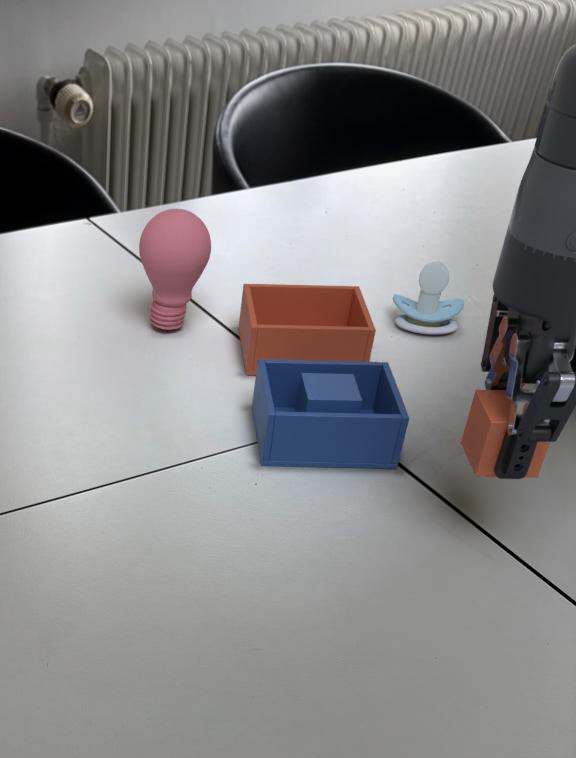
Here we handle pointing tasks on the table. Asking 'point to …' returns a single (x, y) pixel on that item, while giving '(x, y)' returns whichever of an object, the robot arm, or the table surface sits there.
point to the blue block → (328, 393)
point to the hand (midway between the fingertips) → (499, 455)
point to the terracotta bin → (304, 324)
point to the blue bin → (328, 418)
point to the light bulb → (173, 262)
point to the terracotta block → (492, 433)
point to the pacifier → (429, 304)
